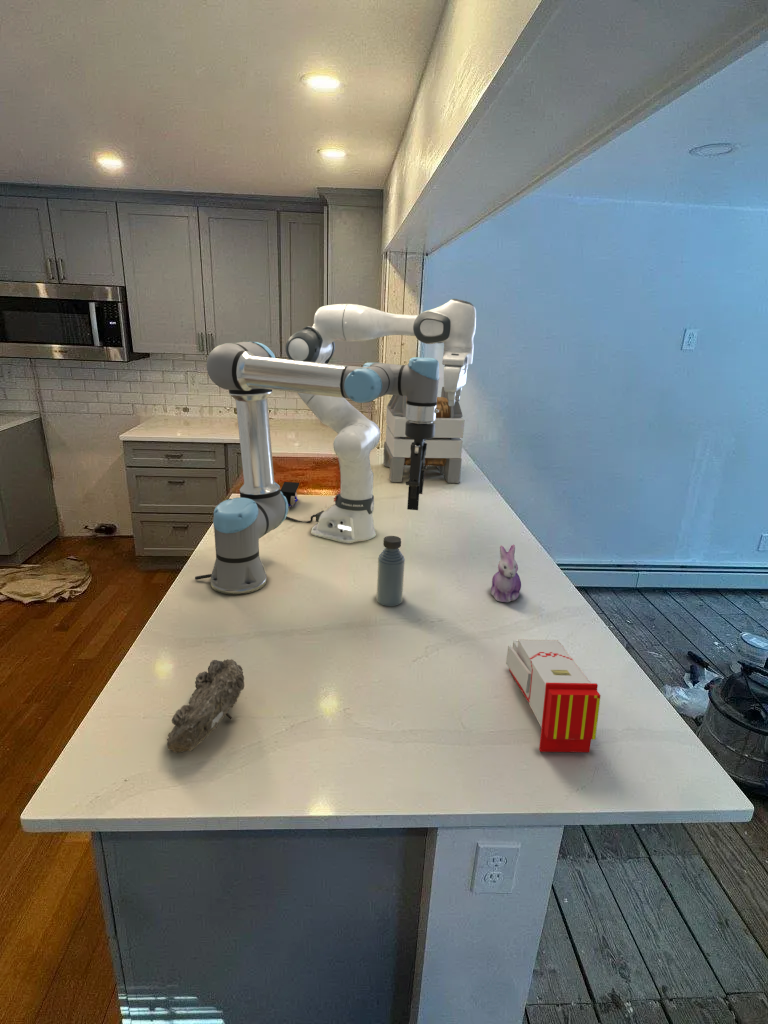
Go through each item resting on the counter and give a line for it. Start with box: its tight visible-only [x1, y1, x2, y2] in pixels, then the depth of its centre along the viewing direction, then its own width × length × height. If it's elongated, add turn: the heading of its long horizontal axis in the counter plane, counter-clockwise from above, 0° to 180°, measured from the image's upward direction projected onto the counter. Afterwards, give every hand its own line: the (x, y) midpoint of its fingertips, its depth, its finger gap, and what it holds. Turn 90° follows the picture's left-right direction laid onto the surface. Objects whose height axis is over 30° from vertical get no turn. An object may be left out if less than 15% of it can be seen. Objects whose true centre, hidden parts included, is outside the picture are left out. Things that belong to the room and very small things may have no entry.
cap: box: [382, 535, 402, 549], centre depth 149 cm, size 5×5×2 cm
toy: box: [505, 638, 602, 753], centre depth 114 cm, size 12×13×30 cm
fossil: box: [166, 658, 245, 754], centre depth 106 cm, size 22×10×15 cm
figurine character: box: [280, 481, 300, 510], centre depth 223 cm, size 7×8×15 cm
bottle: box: [375, 547, 406, 607], centre depth 152 cm, size 7×7×18 cm
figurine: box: [490, 544, 522, 603], centre depth 157 cm, size 9×10×15 cm
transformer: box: [383, 386, 465, 484], centre depth 268 cm, size 34×33×41 cm
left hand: (415, 501), depth 150 cm, fingers open, 13 cm apart
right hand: (454, 403), depth 174 cm, fingers open, 8 cm apart
